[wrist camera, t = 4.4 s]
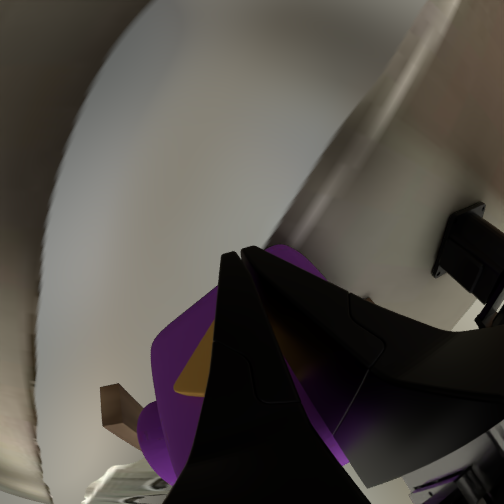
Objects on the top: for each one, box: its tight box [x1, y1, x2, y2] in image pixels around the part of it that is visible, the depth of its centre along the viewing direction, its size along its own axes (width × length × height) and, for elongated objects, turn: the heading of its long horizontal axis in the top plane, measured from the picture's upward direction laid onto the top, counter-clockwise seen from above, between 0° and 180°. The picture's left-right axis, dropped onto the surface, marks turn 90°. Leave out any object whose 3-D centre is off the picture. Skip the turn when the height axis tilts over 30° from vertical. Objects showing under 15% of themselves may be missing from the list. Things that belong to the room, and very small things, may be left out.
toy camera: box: [137, 244, 349, 486], centre depth 13 cm, size 11×14×10 cm
